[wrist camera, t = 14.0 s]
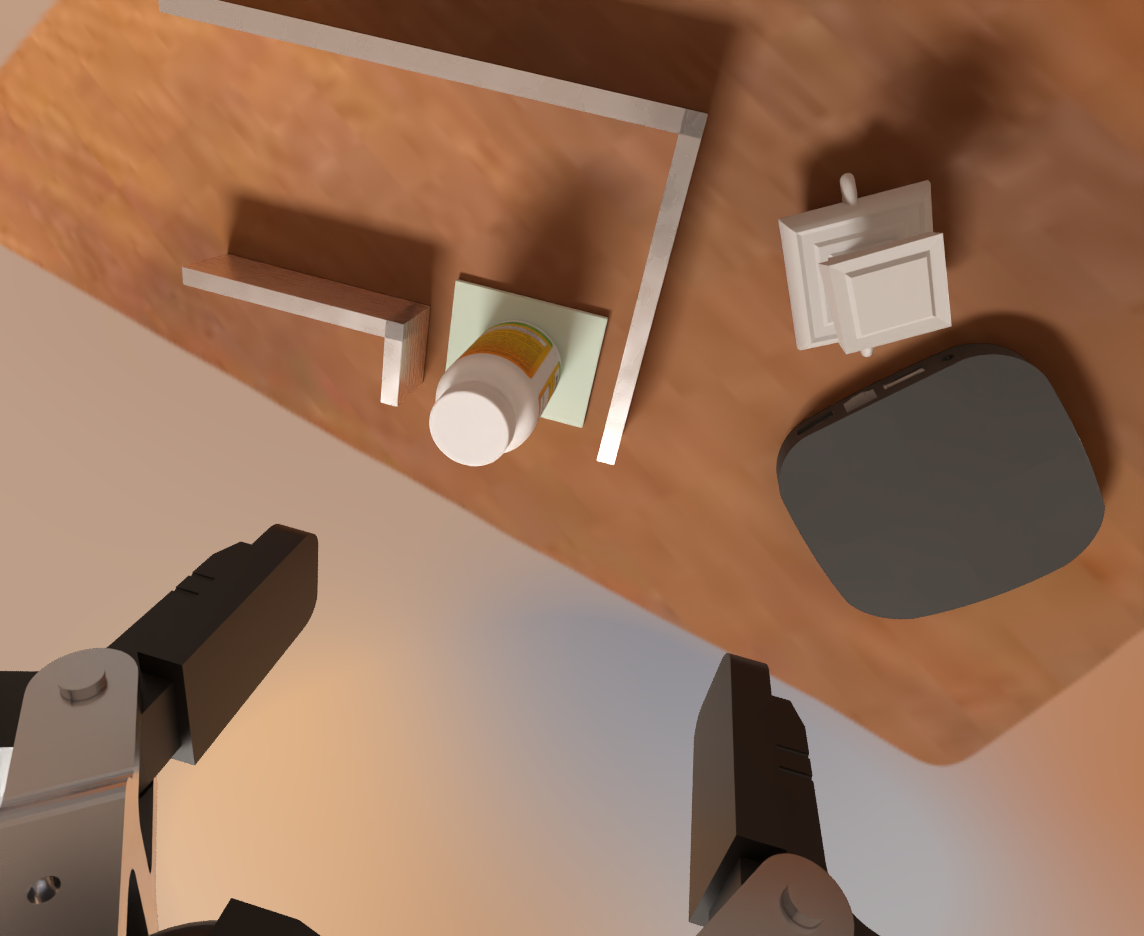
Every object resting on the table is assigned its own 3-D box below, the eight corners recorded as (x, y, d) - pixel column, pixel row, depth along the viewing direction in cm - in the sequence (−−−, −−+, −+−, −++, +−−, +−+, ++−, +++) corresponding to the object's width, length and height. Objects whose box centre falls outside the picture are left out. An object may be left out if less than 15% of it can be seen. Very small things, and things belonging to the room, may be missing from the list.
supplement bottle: (461, 334, 40) (394, 394, 32) (542, 305, 38) (495, 361, 30) (497, 414, 42) (443, 490, 34) (576, 390, 40) (540, 464, 32)
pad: (458, 279, 39) (455, 280, 39) (608, 317, 38) (607, 319, 38) (445, 388, 42) (443, 391, 42) (583, 425, 42) (582, 427, 41)
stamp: (769, 188, 34) (785, 210, 27) (912, 147, 32) (972, 158, 25) (795, 356, 37) (816, 415, 30) (925, 328, 36) (981, 384, 28)
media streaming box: (859, 612, 45) (868, 643, 42) (751, 441, 41) (754, 464, 38) (1104, 523, 39) (1132, 552, 36) (1008, 312, 35) (1032, 328, 32)
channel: (213, -1, 34) (157, -14, 31) (708, 113, 33) (707, 113, 29) (231, 331, 43) (189, 350, 40) (622, 435, 42) (613, 465, 38)
